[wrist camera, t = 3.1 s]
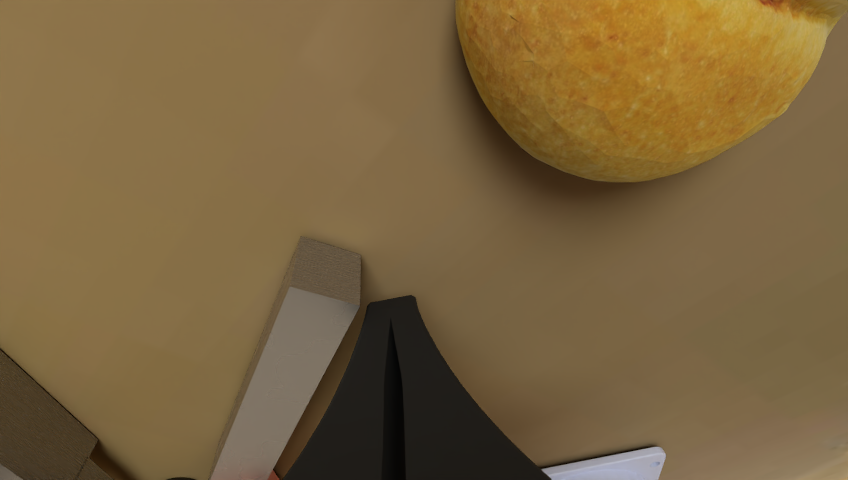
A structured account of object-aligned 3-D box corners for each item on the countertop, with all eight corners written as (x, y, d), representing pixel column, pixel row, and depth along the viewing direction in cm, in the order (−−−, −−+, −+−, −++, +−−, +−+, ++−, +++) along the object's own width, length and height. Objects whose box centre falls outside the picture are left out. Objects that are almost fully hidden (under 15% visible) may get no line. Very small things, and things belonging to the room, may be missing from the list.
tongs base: (214, 495, 19) (197, 556, 18) (129, 512, 19) (103, 575, 17) (-70, 190, 10) (-173, 247, 8) (-230, 221, 10) (-371, 284, 8)
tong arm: (245, 487, 19) (233, 543, 17) (202, 482, 18) (185, 540, 17) (360, 254, 13) (360, 305, 11) (300, 236, 12) (289, 286, 10)
